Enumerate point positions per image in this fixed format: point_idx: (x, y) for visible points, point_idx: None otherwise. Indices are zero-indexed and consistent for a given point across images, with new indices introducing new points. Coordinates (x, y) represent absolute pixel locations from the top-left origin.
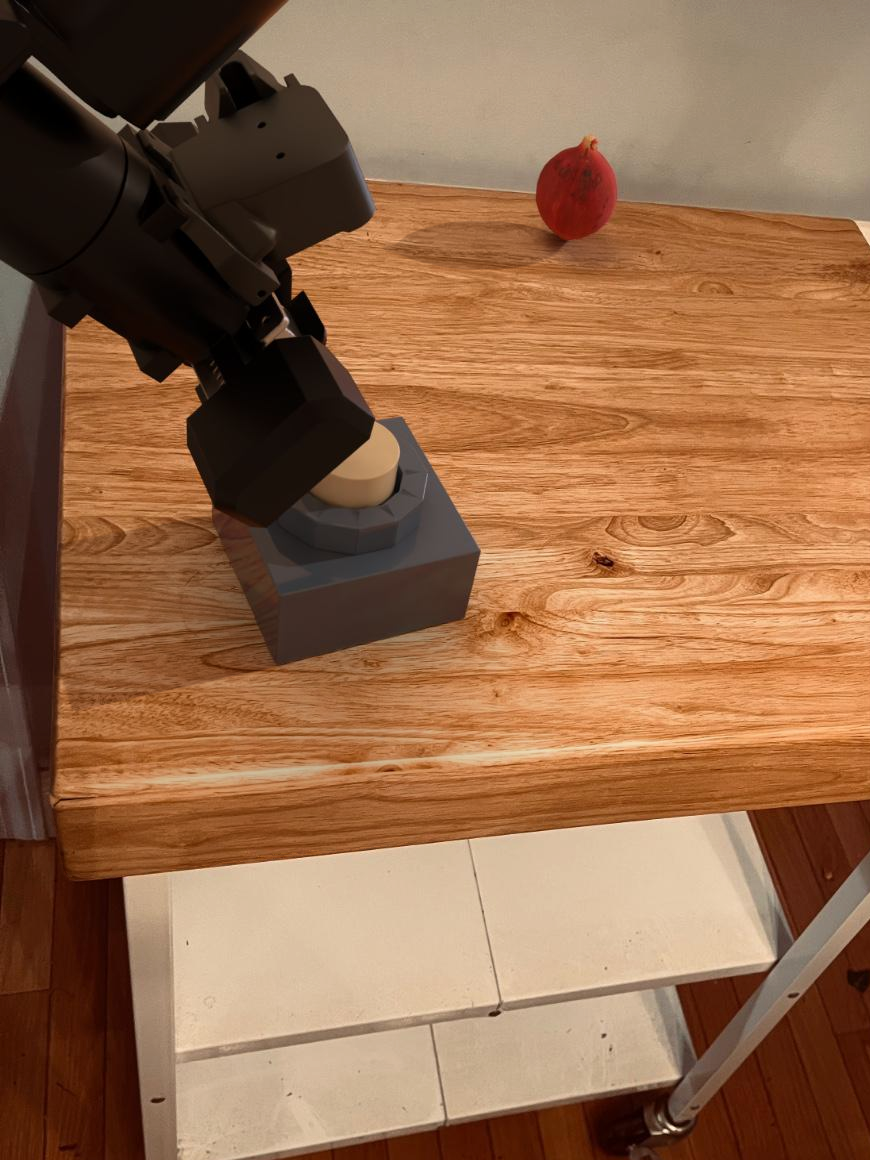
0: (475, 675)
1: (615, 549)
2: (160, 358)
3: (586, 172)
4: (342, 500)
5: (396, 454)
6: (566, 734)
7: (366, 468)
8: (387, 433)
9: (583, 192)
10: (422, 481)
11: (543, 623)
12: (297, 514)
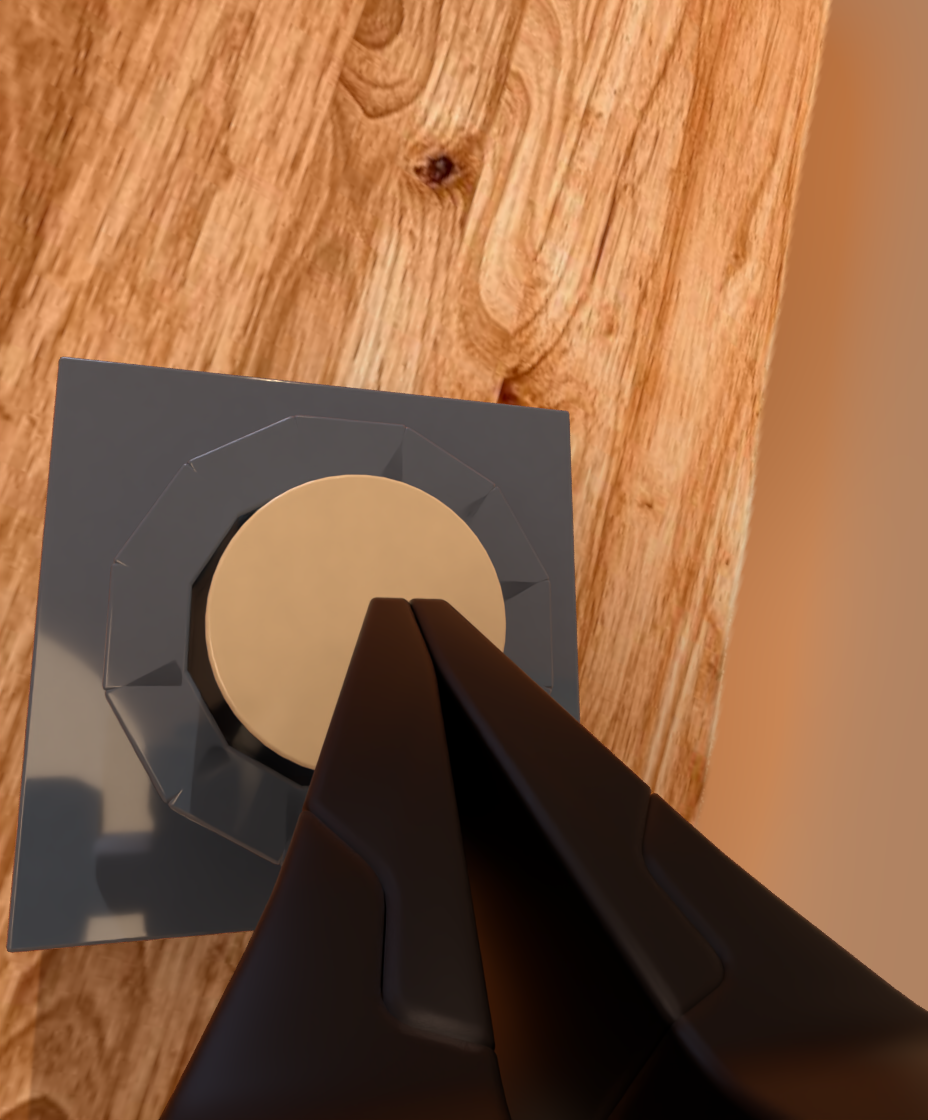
0: (605, 519)
1: (418, 132)
2: None
3: None
4: None
5: (430, 504)
6: (737, 442)
7: (467, 616)
8: (334, 488)
9: None
10: (437, 455)
11: (538, 353)
12: None
